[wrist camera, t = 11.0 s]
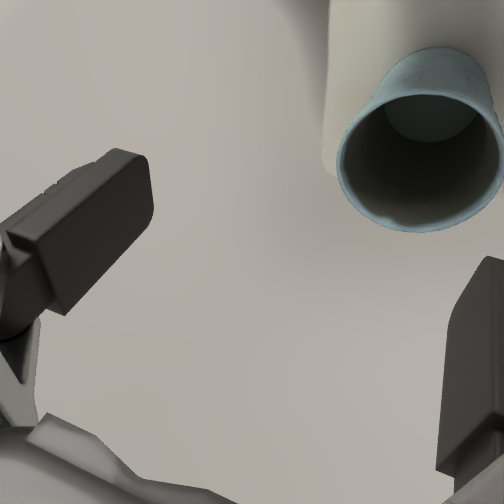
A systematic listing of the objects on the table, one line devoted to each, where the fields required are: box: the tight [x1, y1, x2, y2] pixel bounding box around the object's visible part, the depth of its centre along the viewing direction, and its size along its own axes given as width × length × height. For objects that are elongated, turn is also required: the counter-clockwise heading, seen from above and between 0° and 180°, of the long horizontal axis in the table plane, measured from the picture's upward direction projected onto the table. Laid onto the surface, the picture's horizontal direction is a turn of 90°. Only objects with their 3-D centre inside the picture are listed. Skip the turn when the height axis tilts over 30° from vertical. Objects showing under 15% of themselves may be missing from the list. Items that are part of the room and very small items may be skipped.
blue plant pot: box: [336, 47, 504, 233], centre depth 31 cm, size 10×10×12 cm
